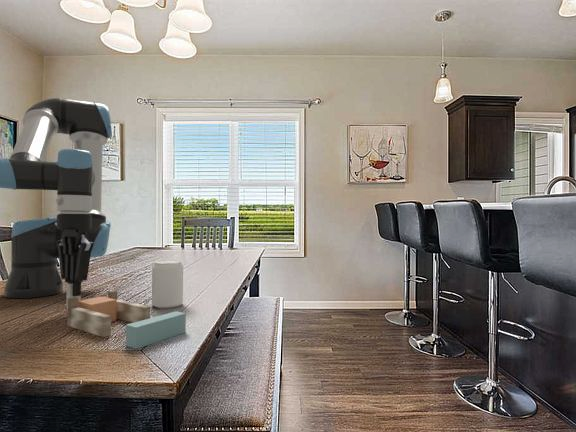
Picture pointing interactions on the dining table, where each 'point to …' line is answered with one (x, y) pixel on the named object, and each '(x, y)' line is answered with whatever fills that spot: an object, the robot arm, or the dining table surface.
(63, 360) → the dining table surface
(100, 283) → the dining table surface
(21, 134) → the robot arm
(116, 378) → the dining table surface
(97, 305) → the block
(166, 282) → the beverage can
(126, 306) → the parallel beige rails
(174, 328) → the stop block
